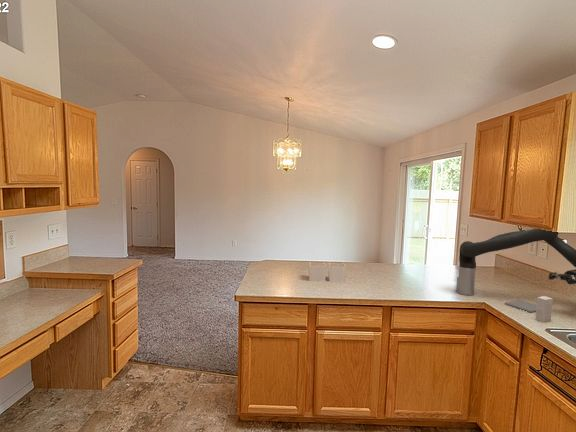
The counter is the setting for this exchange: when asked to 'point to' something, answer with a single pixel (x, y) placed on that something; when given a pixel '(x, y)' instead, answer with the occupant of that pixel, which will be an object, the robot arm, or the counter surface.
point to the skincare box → (544, 308)
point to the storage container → (333, 273)
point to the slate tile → (522, 305)
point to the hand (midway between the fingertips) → (558, 279)
